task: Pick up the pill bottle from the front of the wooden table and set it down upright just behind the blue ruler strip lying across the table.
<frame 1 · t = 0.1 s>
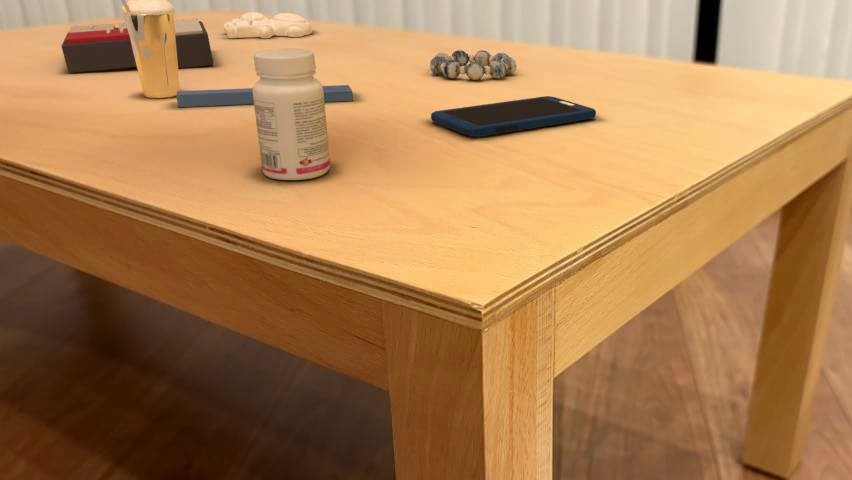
milkshake: (159, 97, 84), on the table
cell phone: (514, 121, 78), on the table
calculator: (142, 63, 100), on the table
blue ruler strip: (267, 101, 83), on the table
bracelet: (472, 75, 98), on the table
pill bottle: (297, 174, 62), on the table
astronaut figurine: (268, 35, 122), on the table
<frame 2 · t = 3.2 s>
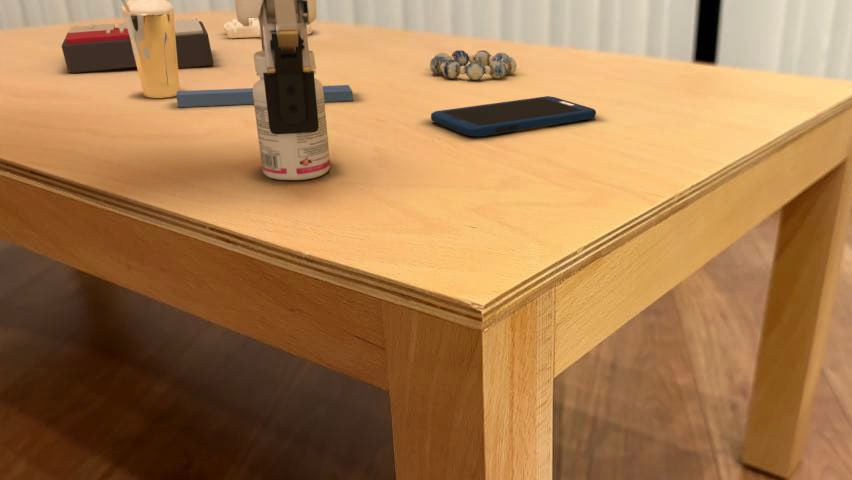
hand: (291, 120, 61), 4 cm above the table, tool pointing down, fingers closed on pill bottle, 4 cm apart
pill bottle: (297, 174, 62), on the table, touching gripper
everything else where it was.
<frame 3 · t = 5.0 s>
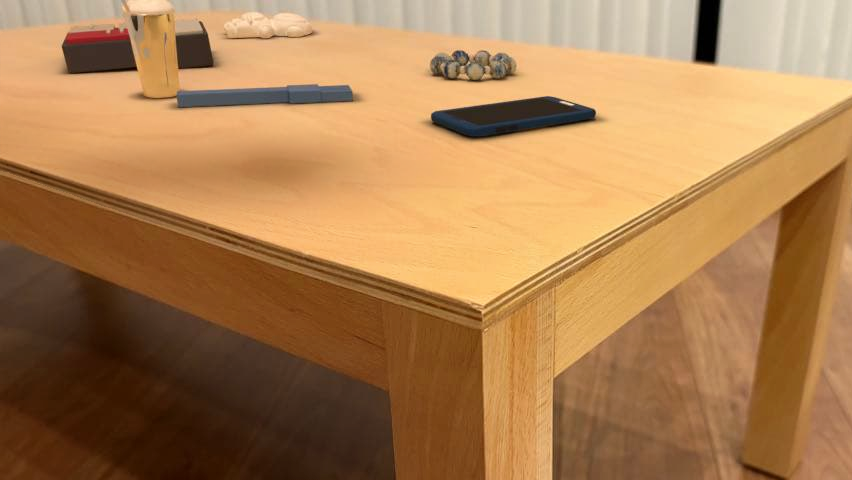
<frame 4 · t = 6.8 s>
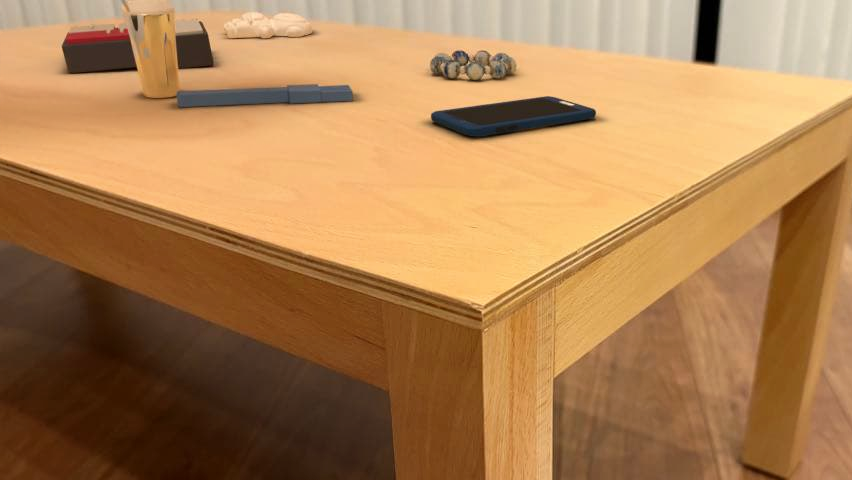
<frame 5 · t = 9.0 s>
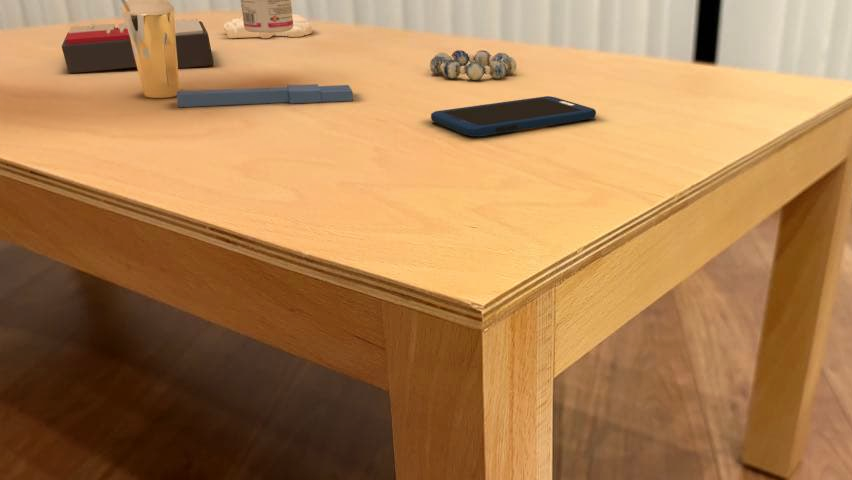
pill bottle: (269, 32, 86), point 6 cm above the table, touching gripper
everything else where it was.
when the fingers open (4 cm above the table, at t = 10.7 s): pill bottle stays where it is, on the table.
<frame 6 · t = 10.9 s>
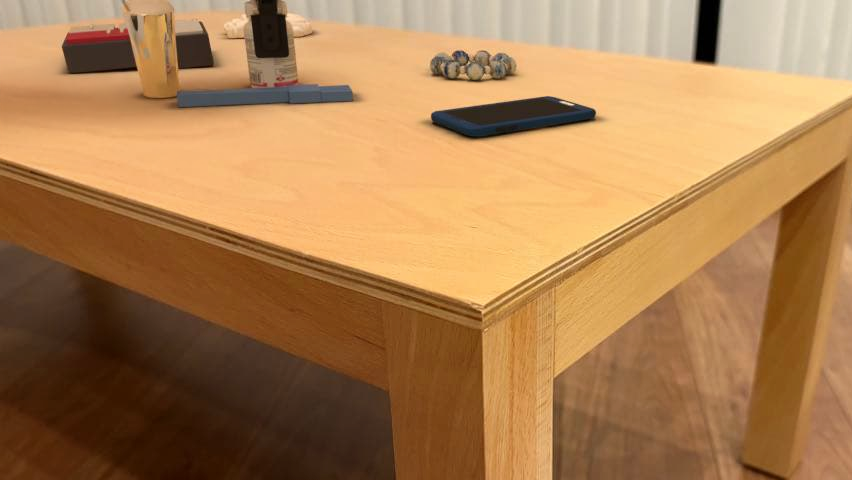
hand: (270, 50, 87), 4 cm above the table, tool pointing down, fingers open, 5 cm apart
pill bottle: (275, 89, 89), on the table
everything else where it was.
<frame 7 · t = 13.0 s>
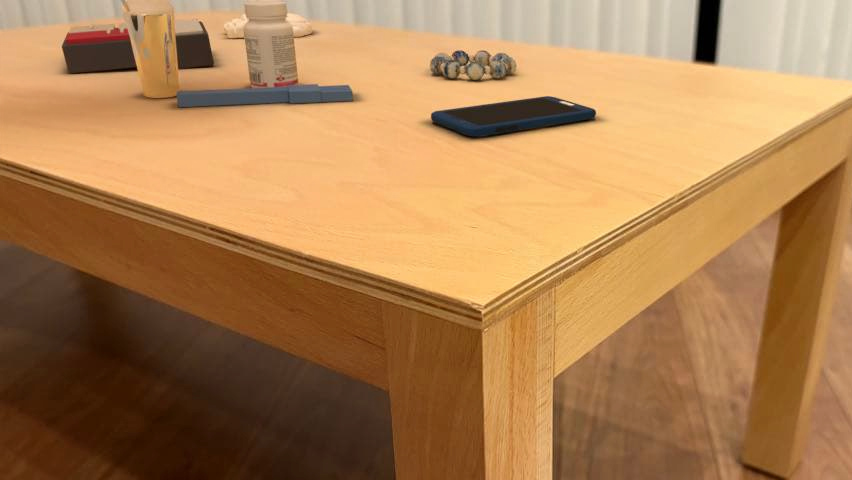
nothing on the table moved.
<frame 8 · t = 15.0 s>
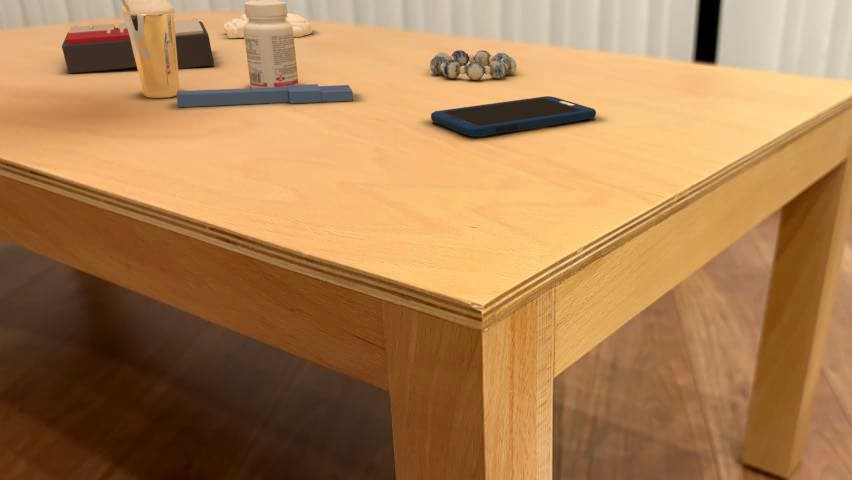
nothing on the table moved.
at the end: pill bottle inside the target area on the table beside the blue ruler strip (1.2 cm from its centre), on the table; pill bottle tilted 0°; the gripper is holding nothing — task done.
